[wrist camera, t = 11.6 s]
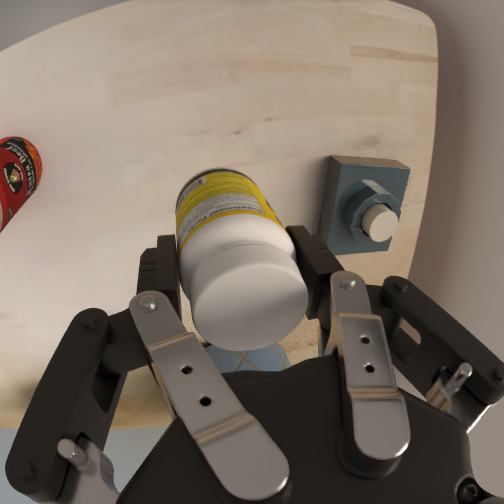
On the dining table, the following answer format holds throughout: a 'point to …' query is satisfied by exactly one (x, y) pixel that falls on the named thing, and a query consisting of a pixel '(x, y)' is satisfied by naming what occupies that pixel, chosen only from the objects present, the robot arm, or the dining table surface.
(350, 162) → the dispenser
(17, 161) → the canned food
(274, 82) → the dining table surface
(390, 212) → the white button cap
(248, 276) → the supplement bottle
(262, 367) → the planter
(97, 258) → the dining table surface
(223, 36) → the dining table surface
